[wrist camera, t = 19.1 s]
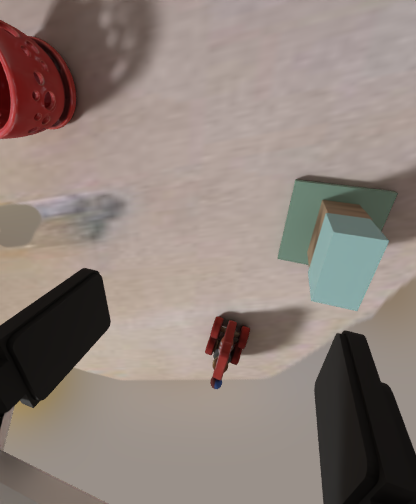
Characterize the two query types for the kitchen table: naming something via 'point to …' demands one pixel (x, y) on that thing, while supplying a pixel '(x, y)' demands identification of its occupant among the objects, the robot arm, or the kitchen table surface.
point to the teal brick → (345, 260)
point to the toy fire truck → (225, 348)
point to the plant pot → (32, 85)
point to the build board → (308, 206)
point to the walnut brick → (333, 208)
